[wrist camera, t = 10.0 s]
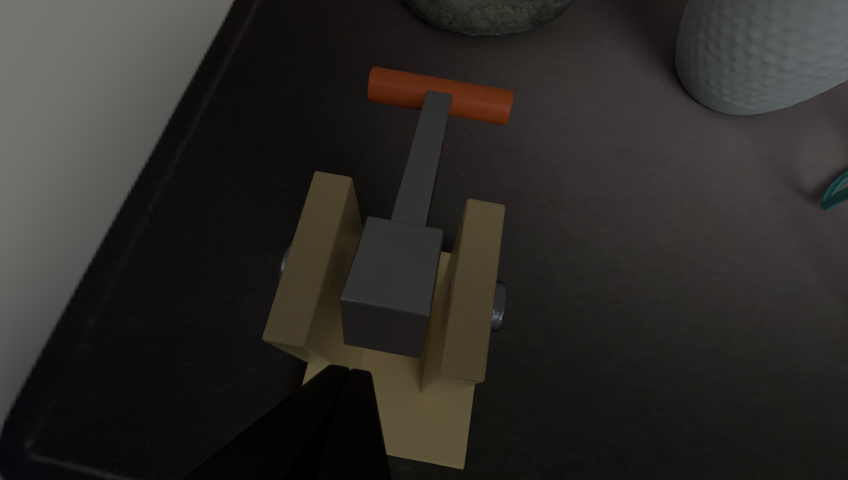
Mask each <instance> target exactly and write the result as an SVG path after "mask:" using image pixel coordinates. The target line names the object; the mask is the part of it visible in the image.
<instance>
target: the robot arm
mask: <svg viewBox="0 0 848 480" xmlns="http://www.w3.org/2000/svg"><path fill="white" fill-rule="evenodd" d="M182 480H391V475H390V469H389V464H388V458H387V453H386V448H385V442H384V437H383V431H382V426H381V421H380V415H379V410H378V404H377V399H376V394H375V388H374V383H373V377H372V374H371V372H370V371H367V370H361V369H356V368H353V369H351V370H350V369H349V368H348V367H346V366H340V365H335V364H330V365H328V366H326V367H325V368H324V369H323V370H321V371H320V372H319V373H317V374H316V375H315V376H314V377H312V378H311V379H310V380H309V381H307V382H306V383H305V384H303V385H302V386H301V387H300V388H298V389H297V390H296V391H294V392H293V393H292V394H291V395H289V396H288V397H287V398H286V399H284V400H283V401H282V402H280V403H279V404H278V405H277V406H275V407H274V408H273V409H271V410H270V411H269V412H268V413H266V414H265V415H264V416H263V417H261V418H260V419H259V420H257V421H256V422H255V423H254V424H252V425H251V426H250V427H249V428H247V429H246V430H245V431H243V432H242V433H241V434H240V435H238V436H237V437H236V438H234V439H233V440H232V441H231V442H229V443H228V444H227V445H226V446H224V447H223V448H222V449H220V450H219V451H218V452H217V453H215V454H214V455H213V456H211V457H210V458H209V459H208V460H206V461H205V462H204V463H203V464H201V465H200V466H199V467H197V468H196V469H195V470H194V471H192V472H191V473H190V474H188V475H187V476H186V477H185V478H183V479H182Z"/></svg>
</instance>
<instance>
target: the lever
mask: <svg viewBox="0 0 848 480" xmlns="http://www.w3.org/2000/svg"><path fill="white" fill-rule="evenodd" d="M368 100H369V101H370V102H376V103H381V104H387V105H393V106H399V107H404V108H410V109H416V110H421V113H420V117H419V120H418V124H417V127H416V131H415V134H414V138H413V141H412V145H411V148H410V152H409V155H408V159H407V162H406V166H405V169H404V173H403V177H402V180H401V184H400V187H399V191H398V194H397V198H396V201H395V205H394V208H393V212H392V215H391V219H390V220H388V219H383V218H377V217H372V216H368V217H367V218H366V221H365V224H364V226H363V229H362V232H361V235H360V238H359V241H358V244H357V247H356V250H355V253H354V256H353V259H352V262H351V265H350V268H349V271H348V274H347V277H346V280H345V283H344V286H343V289H342V292H341V295H340V309H341V319H342V330H343V340H344V344H345V345H349V346H355V347H360V348H365V349H371V350H376V351H381V352H386V353H392V354H397V355H402V356H407V357H413V358H418V359H420V358H421V357H422V353H423V348H424V344H425V339H426V335H427V330H428V325H429V321H430V316H431V311H432V305H433V298H434V292H435V286H436V280H437V274H438V268H439V262H440V256H441V250H442V244H443V238H444V230H443V229H437V228H432V227H427V224H428V219H429V214H430V209H431V204H432V199H433V194H434V189H435V185H436V180H437V175H438V170H439V165H440V160H441V155H442V150H443V145H444V140H445V135H446V130H447V125H448V120H449V116H455V117H461V118H467V119H472V120H478V121H484V122H489V123H495V124H501V125H506V124H507V121H508V119H509V115H510V111H511V107H512V101H513V91H512V90H508V89H502V88H496V87H490V86H485V85H479V84H473V83H467V82H462V81H456V80H450V79H444V78H439V77H433V76H427V75H421V74H416V73H410V72H404V71H398V70H393V69H387V68H381V67H375V66H374V67H372V69H371V72H370V75H369V81H368Z"/></svg>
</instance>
